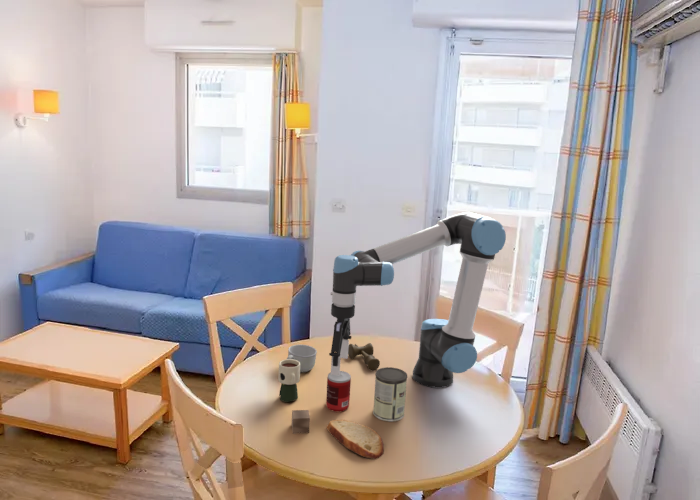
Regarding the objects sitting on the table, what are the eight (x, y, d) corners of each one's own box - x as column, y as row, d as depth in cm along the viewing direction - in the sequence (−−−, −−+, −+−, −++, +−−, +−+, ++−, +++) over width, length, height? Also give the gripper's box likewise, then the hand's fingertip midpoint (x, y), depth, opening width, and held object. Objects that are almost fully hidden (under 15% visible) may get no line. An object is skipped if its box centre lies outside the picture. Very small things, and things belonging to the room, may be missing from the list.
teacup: (303, 360, 219) (304, 341, 217) (321, 370, 211) (322, 350, 210) (274, 370, 209) (275, 350, 208) (293, 380, 202) (293, 359, 200)
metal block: (307, 424, 173) (308, 409, 172) (309, 433, 168) (309, 418, 167) (291, 425, 172) (292, 410, 171) (292, 433, 167) (293, 418, 166)
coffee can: (377, 403, 188) (380, 364, 185) (407, 410, 185) (410, 370, 182) (368, 417, 179) (371, 377, 176) (399, 424, 176) (403, 383, 173)
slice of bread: (327, 423, 175) (328, 412, 174) (385, 428, 173) (385, 417, 173) (319, 455, 157) (320, 443, 157) (382, 462, 156) (383, 450, 155)
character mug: (274, 393, 191) (275, 357, 189) (294, 390, 194) (295, 355, 191) (282, 408, 182) (283, 371, 179) (303, 405, 184) (304, 368, 181)
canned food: (350, 401, 188) (352, 371, 186) (347, 413, 181) (349, 382, 178) (327, 399, 189) (329, 369, 187) (324, 411, 181) (325, 379, 179)
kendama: (362, 373, 212) (343, 351, 230) (384, 371, 216) (364, 350, 234) (363, 358, 211) (344, 338, 229) (386, 357, 214) (366, 336, 232)
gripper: (339, 291, 190) (336, 350, 194) (322, 314, 166) (319, 380, 170) (361, 294, 189) (357, 352, 193) (347, 317, 165) (343, 383, 169)
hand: (339, 365), depth 182 cm, fingers open, 13 cm apart
